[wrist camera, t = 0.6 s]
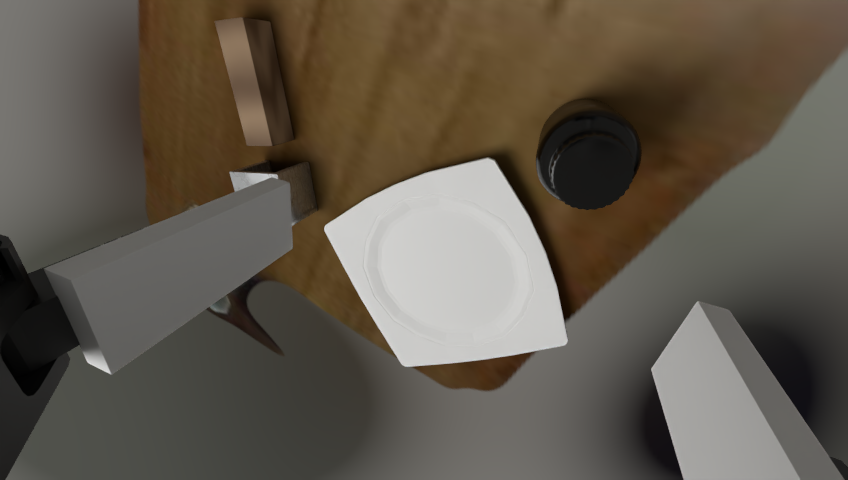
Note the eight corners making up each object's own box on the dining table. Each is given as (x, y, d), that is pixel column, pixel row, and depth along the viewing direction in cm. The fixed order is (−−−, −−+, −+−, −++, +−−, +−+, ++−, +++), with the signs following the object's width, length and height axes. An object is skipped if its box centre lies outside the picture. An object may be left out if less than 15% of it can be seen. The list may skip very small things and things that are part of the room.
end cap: (264, 160, 44) (229, 171, 40) (308, 162, 42) (277, 174, 38) (275, 206, 47) (243, 222, 42) (317, 210, 45) (289, 227, 40)
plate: (323, 213, 45) (311, 221, 43) (503, 135, 34) (499, 140, 32) (407, 360, 52) (400, 374, 50) (581, 335, 41) (583, 351, 38)
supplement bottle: (531, 166, 34) (518, 209, 24) (552, 91, 31) (549, 104, 21) (605, 183, 33) (626, 236, 22) (636, 106, 29) (677, 127, 19)
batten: (245, 25, 38) (214, 21, 35) (271, 21, 37) (242, 17, 33) (271, 139, 43) (247, 145, 40) (295, 139, 42) (272, 145, 39)
